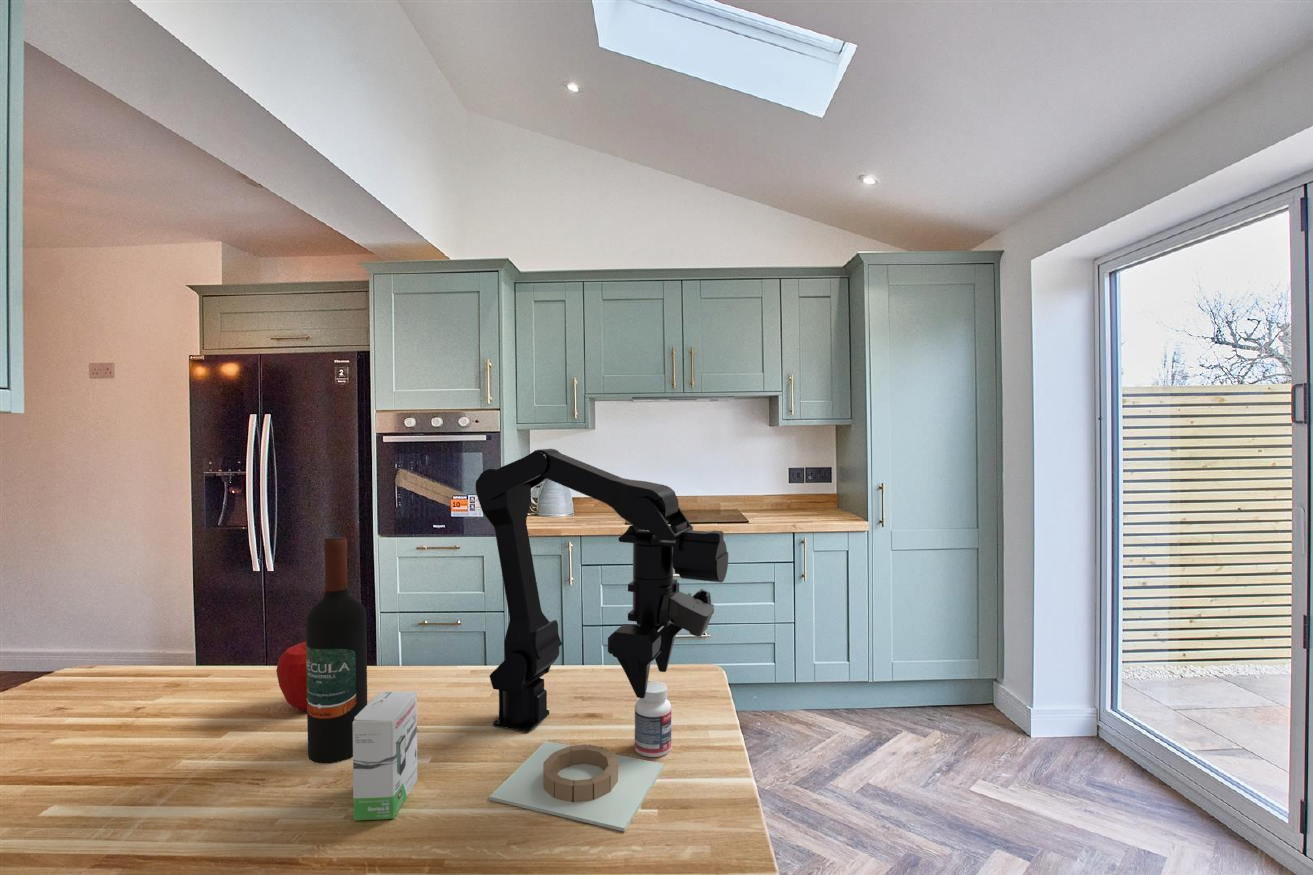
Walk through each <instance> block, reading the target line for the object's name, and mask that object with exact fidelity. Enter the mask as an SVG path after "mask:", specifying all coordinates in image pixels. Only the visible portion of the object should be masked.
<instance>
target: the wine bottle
mask: <svg viewBox="0 0 1313 875" xmlns="http://www.w3.org/2000/svg"><path fill="white" fill-rule="evenodd" d="M347 540H348V539H347V537H346V536H332V537H327V538H324V544H323V551H324V584H325V585H324V588H325V591H324V594H323V597H322V598H321V599H320V600H319V601H318V602H317V603H316V604H314V605H313V606H312V608H311V609H310V610H309V611H308V614H307V615H306V620H305V642H306V659H307V711H306V714H307V715H306V716H307V717H306V718H307V719H306V720H307V721H306V722H307V757H308V760H309V761H311V762H313V763H316V764H320V765H321V764H335V763H339V762H343V761H346V760H349V759H353V724H352V723H353V721H354V718H355V716H356V715H357V714H358V713H359V712H360V711H361V710H362V709H363V708H364V707H365V706H366V705H367V704H368V659H367V656H368V646H367V643H368V642H367V638H368V637H367V634H368V633H367V612H366V611H367V610H366V607H365V606H364V605H363V604H362V602H360V601H359V600H358V599H357V598H355V597H353V595H350V592H349V590H348V556H347V555H348V542H347Z"/></svg>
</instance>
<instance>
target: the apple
mask: <svg viewBox="0 0 1313 875" xmlns="http://www.w3.org/2000/svg"><path fill="white" fill-rule="evenodd" d="M275 671H276V676H277V681H278V686H279V688H280V690H281V693H282V695H283V697H284V699H285V701H286V703H287V704H288V705H289V706H290V707H292V708H295V709H297V710H298V711H301V712H307V659H306V641H304V642H300V643H297V644H296V645H293V646H290V647H288V648H287V649H286V650H285V651H284V652H283V653H282V654H281V656H280V657H279V658H278V661H277V666H276V670H275Z"/></svg>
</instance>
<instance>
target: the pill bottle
mask: <svg viewBox="0 0 1313 875" xmlns="http://www.w3.org/2000/svg"><path fill="white" fill-rule="evenodd" d="M667 698H668V686H667V684H665V683H664V682H661V681H657V680H650V681H649V680H648V684H647V690H646V695H645V697H644V698H639V699H638V700H637V701H636V702H635V703H634V704H635V705H634V749H635V751H636V752H637V754H639V755H641V756H644V757H647V758H649V757H650V758H659V757H663V756H666V754H668V753H669V752H670V751H671V750H672V749H671V748H672V704H671V702H670V700H668V699H667Z"/></svg>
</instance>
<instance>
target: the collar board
mask: <svg viewBox="0 0 1313 875" xmlns="http://www.w3.org/2000/svg"><path fill="white" fill-rule="evenodd" d="M664 768H665V763H661V762H656V761H651V760H645V759H642V758H641V759H640V758H635V757H631V756H625V755H620V754H616V753H615V754H614V753H613V752H612V751H610V750H608V749H607V748H606V747H602V746H597V745H592V744H579V745H568V744H563V743H557V742H553V741H547V740H545V741H544V742H543V743H542V744H540V746H539V747H538V748H537V749H536V750H535V751H534V752H533V753H532V754H531V755H530V756H529V757H528V758H527V759H526V760H525V761H524V762H522V764H521V765H520V766H519V767H517V768H516V769H515V770H514V772H512V773H511V774H510V776H509V777H508V778H507V779H505V780H504V781H503V782H502V784H501V783H500V785H499V786H498V787H497V788H496V789H495V790H494V791H493V792H492V793H491V794H490V795H489V796H488V797H489V798H488V799H489V800H490V801H493V802H496V803H502V804H504V805H505V804H506V805H510V806H515V807H518V808H524V809H527V810H532V811H535V812H540V813H543V814H549V815H552V816H557V817H561V818H565V819H569V820H574V821H578V822H582V823H586V824H590V825H595V826H599V827H604V828H608V829H612V830H616V831H620V832H626V831H627V829H628V827H629V826H630V824H631V822H632V821H633V819H634V818H635V816H636V814H637V812H638V811H639V809H640V808H641V806H642V804H643V803H644V801H645V800H646V798H647V796H648V794H649V792H651V789H652V788H653V786H654V784H655V783H656V781H657V780H658V777H659V776H660V775H661V773H662V771H663V769H664Z"/></svg>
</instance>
